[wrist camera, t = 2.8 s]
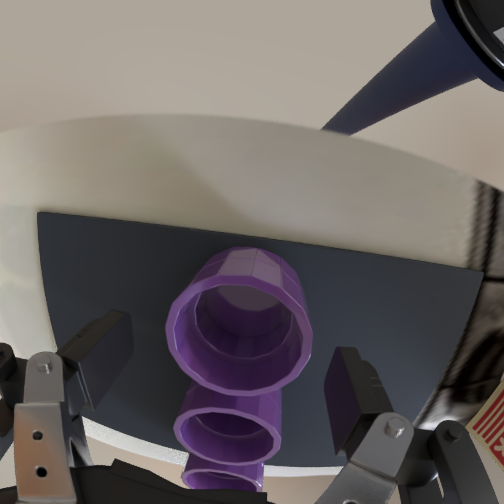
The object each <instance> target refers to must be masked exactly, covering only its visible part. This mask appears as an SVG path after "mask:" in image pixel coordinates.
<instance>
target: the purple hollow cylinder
mask: <svg viewBox="0 0 504 504" xmlns="http://www.w3.org/2000/svg"><path fill="white" fill-rule="evenodd" d="M165 331H166V337H167V343H168V348H169V351H170V353H171V354H172V356H173V357H174V359H175V360H176V362H177V363H178V365H179V366H180V368H181V370H183V372H185V373H186V374H187V375H189V376H190V377H191V378H192V379H194V380H195V381H196V382H198V383H199V384H200V385H202V386H204V387H206V388H209V389H212V390H214V391H217V392H220V393H222V394H225V395H234V396H249V397H251V396H257V395H261V394H266V393H270V392H274V391H276V390H279V389H280V388H282V387H283V386H285V385H286V384H288V383H289V382H291V381H292V380H294V379H295V378H296V377H298V375H299V374H300V372H301V371H302V369H303V368H304V366H305V365H306V363H307V362H308V360H309V359H310V356H311V348H312V340H313V331H312V326H311V321H310V316H309V312H308V308H307V303H306V298H305V294H304V290H303V288H302V285H301V283H300V280H299V277H298V275H297V273H296V272H295V271H294V270H293V269H292V268H291V267H290V266H289V265H288V264H287V263H286V262H285V260H284V259H283V258H282V257H280V256H278V255H276V254H273V253H271V252H268V251H266V250H264V249H261V248H258V247H232V248H229V249H227V250H224V251H222V252H219V253H217V254H214V255H213V256H212V257H210V258H209V259H208V260H207V261H206V262H205V263H204V264H203V265H202V266H201V267H200V268H199V269H198V271H197V272H196V273H195V274H194V276H193V277H192V278H191V279H190V281H189V282H188V283H187V284H186V286H185V287H184V288H183V289H182V291H181V292H180V293H179V295H178V296H177V297H176V298H175V300H174V301H173V302H172V304H171V307H170V310H169V313H168V317H167V320H166V324H165Z"/></svg>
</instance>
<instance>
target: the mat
mask: <svg viewBox="0 0 504 504" xmlns="http://www.w3.org/2000/svg"><path fill="white" fill-rule="evenodd" d="M37 226H38V242H39V253H40V262H41V270H42V277H43V284H44V290H45V296H46V301H47V306H48V311H49V316H50V320H51V325H52V329H53V333H54V337H55V341H56V344H57V348H58V350H59V349H60V348H61V347H62V346H63V345H64V344H65V343H67V342H68V341H69V340H70V339H71V338H72V337H73V336H74V335H75V336H76V333H78V332H79V331H80V330H82V328H83V327H84V326H85V325H87V324H88V323H89V322H91V321H93V320H95V319H98V318H102V317H103V316H104V315H106V314H107V313H108V312H109V311H110V310H112V309H114V310H118V311H122V312H126V313H129V314H130V315H131V319H132V330H133V340H134V352H133V356H132V358H131V360H130V361H129V363H128V364H127V365H126V367H125V368H124V370H123V371H122V372H121V374H120V375H119V377H118V378H117V379H116V381H115V382H114V384H113V385H112V386H111V388H110V389H109V391H108V392H107V394H106V395H105V396H104V398H103V399H102V401H101V402H100V404H99V405H98V406H97V408H96V409H95V411H92V410H90V409H88V408H85V407H83V408H82V409H81V411H80V413H81V415H82V416H83V417H85V418H88V419H90V420H92V421H94V422H97V423H99V424H101V425H104V426H106V427H109V428H111V429H114V430H116V431H119V432H122V433H124V434H127V435H130V436H133V437H136V438H138V439H141V440H145V441H148V442H151V443H154V444H158V445H161V446H165V447H168V448H172V449H176V450H180V451H184V452H189V451H188V450H187V449H186V448H185V447H184V446H183V445H182V444H181V443H180V442H179V441H178V440H177V439H176V436H175V433H174V430H173V425H174V423H175V420H176V418H177V415H178V413H179V410H180V408H181V405H182V403H183V400H184V398H185V395H186V393H187V390H188V388H189V385H190V383H191V380H192V378H191V377H190V376H189V375H187V374H186V373H185V372H183V370H181V368H180V366H179V365H178V363H177V362H176V360H175V359H174V357H173V356H172V354H171V353H170V351H169V348H168V343H167V337H166V331H165V324H166V320H167V317H168V313H169V310H170V307H171V304H172V302H173V301H174V300H175V298H176V297H177V296H178V295H179V293H180V292H181V291H182V289H183V288H184V287H185V286H186V284H187V283H188V282H189V281H190V279H191V278H192V277H193V276H194V274H195V273H196V272H197V271H198V269H199V268H200V267H201V266H202V265H203V264H204V263H205V262H206V261H207V260H208V259H209V258H210V257H212V256H213V255H214V254H217V253H219V252H222V251H224V250H227V249H229V248H232V247H258V248H261V249H264V250H266V251H268V252H271V253H273V254H276V255H278V256H280V257H282V258H283V259H284V260H285V262H286V263H287V264H288V265H289V266H290V267H291V268H292V269H293V270H294V271H295V272H296V273H297V275H298V277H299V280H300V283H301V285H302V288H303V290H304V294H305V298H306V303H307V308H308V312H309V316H310V321H311V326H312V331H313V340H312V348H311V356H310V359H309V360H308V362H307V363H306V365H305V366H304V368H303V369H302V371H301V372H300V374H299V375H298V377H296V378H295V379H294V380H292V381H291V382H289V383H288V384H286V385H285V386H283V387H282V388H280V389H281V392H282V413H281V414H282V417H281V444H280V449H279V450H278V451H277V452H276V453H275V454H274V455H273V456H272V457H271V458H270V459H267V460H265V461H264V465H273V466H289V467H337V466H345V464H346V463H347V456H335V450H334V444H333V438H332V432H331V427H330V421H329V416H328V410H327V405H326V400H325V395H324V381H325V377H326V374H327V371H328V368H329V365H330V362H331V359H332V356H333V353H334V350H335V348H336V347H337V346H341V347H356V348H357V350H358V352H359V354H360V357H361V359H362V360H367V361H368V362H369V363H370V364H371V365H372V366H373V367H374V368H375V369H376V371H377V373H378V375H379V377H380V378H379V379H380V380H381V382H382V384H383V387H384V388H385V391H386V393H387V395H388V397H389V400H390V402H391V404H392V407H393V409H394V411H395V412H396V413H399V414H402V415H404V416H405V417H407V418H408V419H409V420H410V421H411V422H412V423H413V422H414V420H415V419H416V417H417V416H418V414H419V413H420V411H421V410H422V408H423V407H424V405H425V403H426V402H427V400H428V398H429V397H430V395H431V394H432V392H433V390H434V388H435V387H436V385H437V383H438V381H439V380H440V378H441V376H442V374H443V372H444V370H445V368H446V366H447V365H448V363H449V361H450V359H451V357H452V355H453V352H454V350H455V348H456V346H457V344H458V342H459V340H460V337H461V335H462V333H463V330H464V328H465V326H466V323H467V321H468V318H469V316H470V313H471V310H472V308H473V305H474V302H475V299H476V296H477V294H478V291H479V287H480V284H481V281H482V278H483V275H484V273H483V272H482V271H477V270H471V269H466V268H460V267H454V266H448V265H442V264H436V263H430V262H423V261H417V260H411V259H405V258H398V257H392V256H385V255H379V254H372V253H366V252H359V251H353V250H346V249H339V248H332V247H325V246H318V245H311V244H304V243H297V242H290V241H283V240H276V239H268V238H261V237H253V236H246V235H238V234H231V233H223V232H215V231H207V230H199V229H191V228H183V227H175V226H167V225H158V224H150V223H141V222H133V221H124V220H115V219H106V218H97V217H87V216H78V215H68V214H59V213H49V212H37Z"/></svg>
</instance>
